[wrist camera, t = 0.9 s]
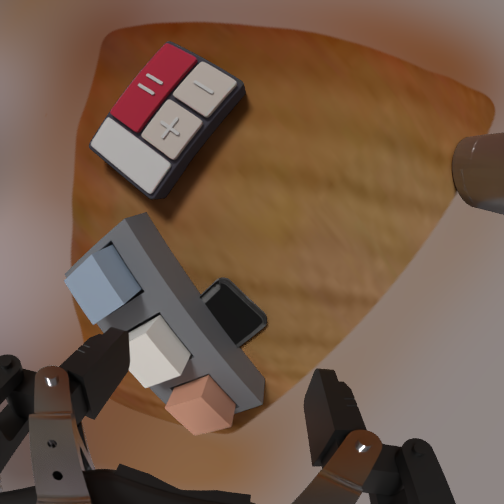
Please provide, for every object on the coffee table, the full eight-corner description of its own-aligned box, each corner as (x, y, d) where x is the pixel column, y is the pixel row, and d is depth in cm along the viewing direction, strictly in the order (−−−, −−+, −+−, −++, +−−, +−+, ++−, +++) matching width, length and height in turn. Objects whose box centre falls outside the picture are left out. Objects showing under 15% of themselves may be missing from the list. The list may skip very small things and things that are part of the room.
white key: (160, 314, 28) (145, 333, 24) (190, 353, 29) (180, 375, 25) (128, 332, 29) (112, 350, 25) (157, 368, 30) (145, 388, 26)
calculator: (245, 80, 22) (149, 201, 25) (248, 94, 26) (164, 200, 29) (165, 36, 21) (83, 145, 24) (177, 52, 25) (103, 149, 28)
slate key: (112, 244, 26) (91, 254, 22) (141, 288, 27) (124, 304, 23) (84, 269, 27) (64, 280, 23) (110, 309, 28) (93, 325, 24)
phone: (148, 345, 34) (221, 275, 30) (151, 341, 35) (223, 272, 31) (191, 381, 35) (271, 322, 31) (194, 377, 36) (271, 318, 32)
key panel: (146, 212, 30) (124, 218, 25) (264, 378, 34) (262, 404, 29) (87, 262, 32) (64, 274, 27) (196, 403, 37) (188, 425, 32)
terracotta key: (208, 374, 29) (201, 397, 25) (235, 404, 30) (231, 426, 26) (174, 387, 30) (164, 408, 27) (201, 414, 31) (194, 435, 27)
